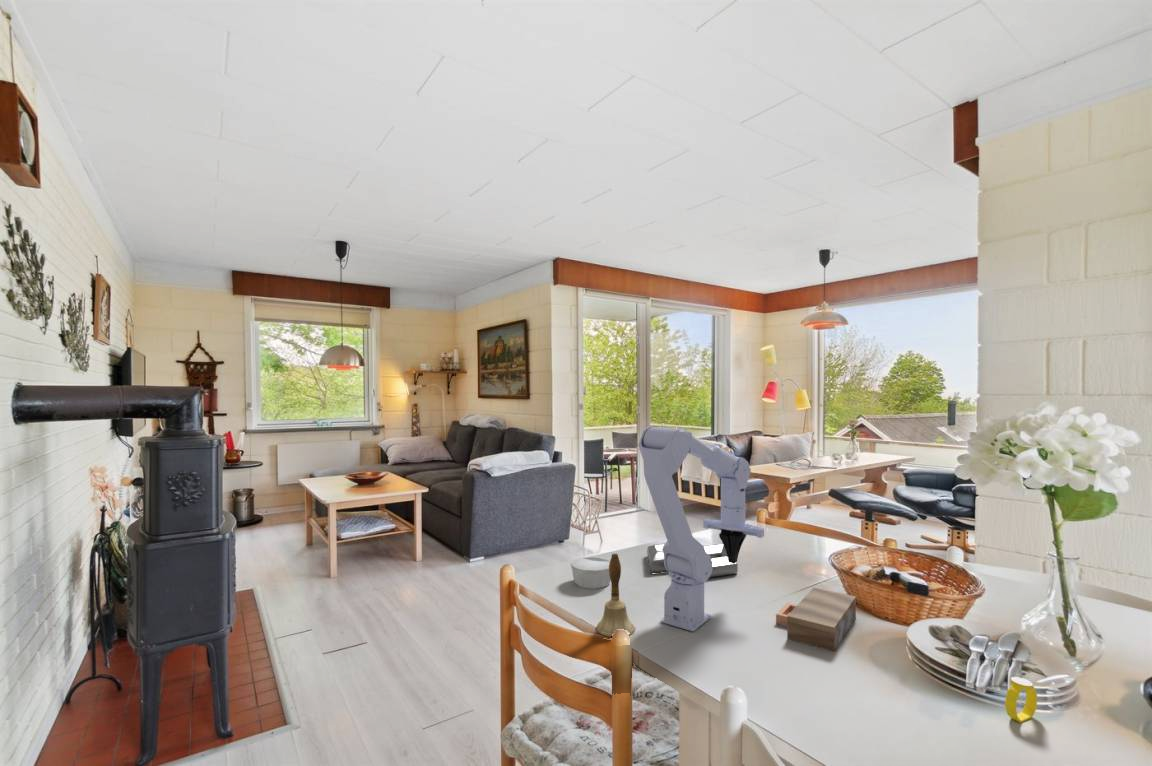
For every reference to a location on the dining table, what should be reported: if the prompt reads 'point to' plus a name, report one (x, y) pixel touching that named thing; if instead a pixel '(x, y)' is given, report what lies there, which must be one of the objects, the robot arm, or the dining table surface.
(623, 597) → the dining table surface
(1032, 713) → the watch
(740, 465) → the robot arm
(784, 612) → the shallow pink tray
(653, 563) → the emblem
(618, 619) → the hand bell
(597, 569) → the ramekin
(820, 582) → the dining table surface
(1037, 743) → the dining table surface
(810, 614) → the wooden block
